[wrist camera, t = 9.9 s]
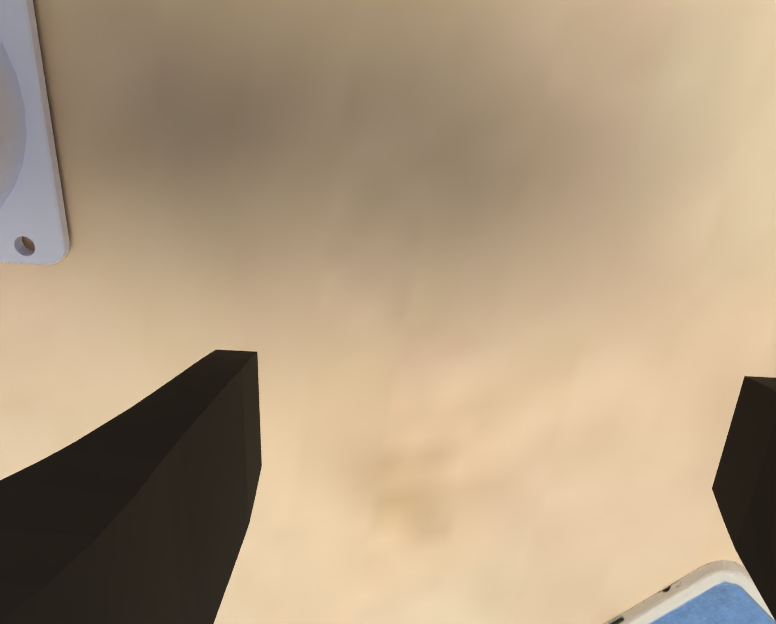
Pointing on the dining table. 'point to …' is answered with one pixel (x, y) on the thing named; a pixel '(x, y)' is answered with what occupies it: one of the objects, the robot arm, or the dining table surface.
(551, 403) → the dining table surface
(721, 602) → the tablet computer
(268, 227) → the dining table surface
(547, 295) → the dining table surface
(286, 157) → the dining table surface
